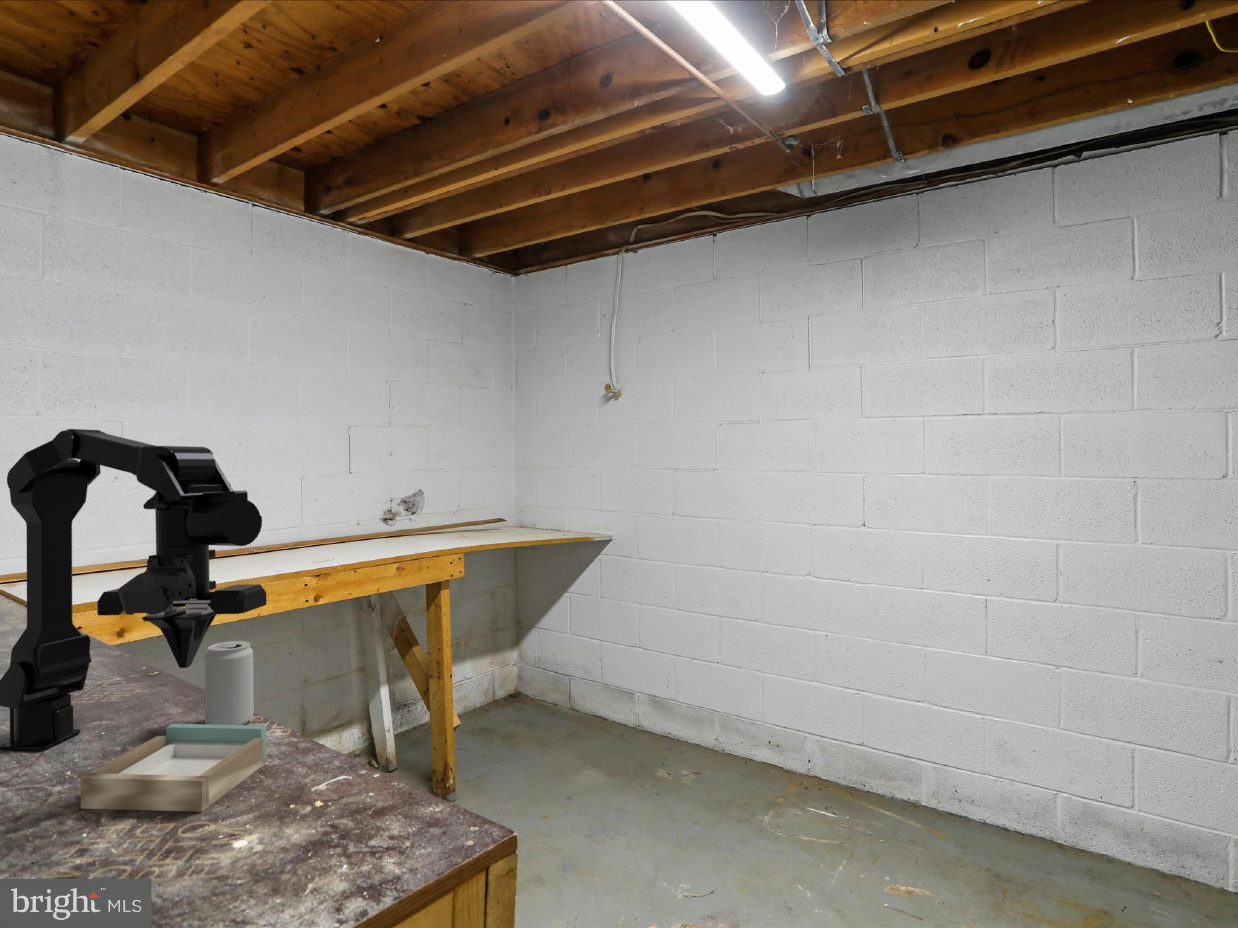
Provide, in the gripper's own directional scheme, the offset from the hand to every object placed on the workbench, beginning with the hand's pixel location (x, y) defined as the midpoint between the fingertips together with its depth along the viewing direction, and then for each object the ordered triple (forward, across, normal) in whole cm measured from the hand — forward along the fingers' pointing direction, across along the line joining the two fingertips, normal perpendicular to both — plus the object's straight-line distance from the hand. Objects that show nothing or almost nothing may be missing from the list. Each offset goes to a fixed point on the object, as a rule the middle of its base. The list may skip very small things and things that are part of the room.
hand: (185, 667), depth 89 cm
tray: (+14, +1, -2) cm, 14 cm away
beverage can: (+14, -5, +16) cm, 22 cm away
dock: (+14, +1, -2) cm, 14 cm away
